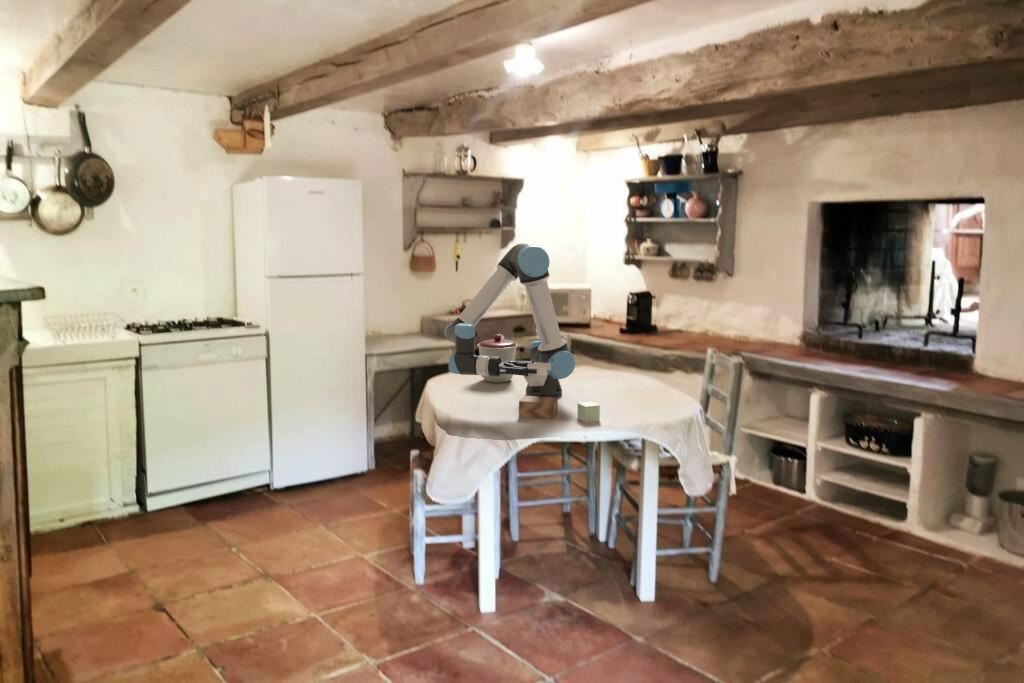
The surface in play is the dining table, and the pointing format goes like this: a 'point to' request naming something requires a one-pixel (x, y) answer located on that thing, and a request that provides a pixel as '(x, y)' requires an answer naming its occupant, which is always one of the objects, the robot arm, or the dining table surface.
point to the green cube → (588, 411)
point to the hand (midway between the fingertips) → (548, 369)
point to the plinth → (538, 407)
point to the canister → (498, 354)
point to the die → (536, 376)
